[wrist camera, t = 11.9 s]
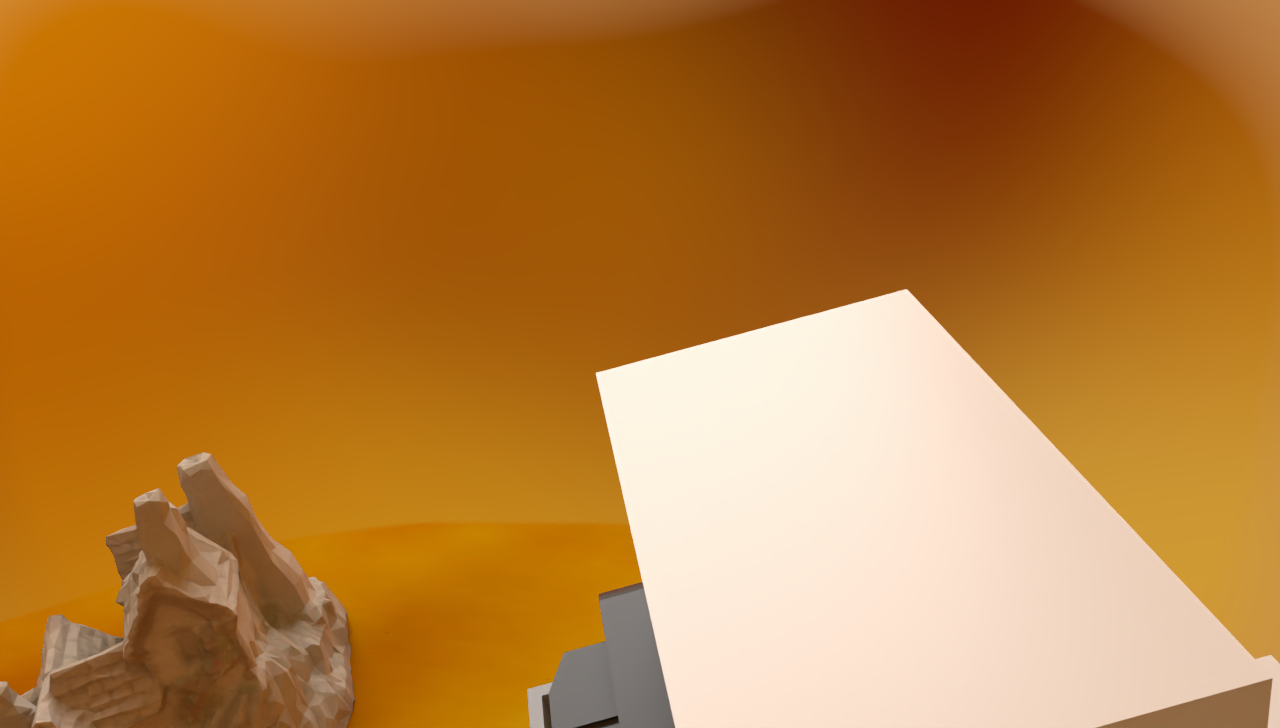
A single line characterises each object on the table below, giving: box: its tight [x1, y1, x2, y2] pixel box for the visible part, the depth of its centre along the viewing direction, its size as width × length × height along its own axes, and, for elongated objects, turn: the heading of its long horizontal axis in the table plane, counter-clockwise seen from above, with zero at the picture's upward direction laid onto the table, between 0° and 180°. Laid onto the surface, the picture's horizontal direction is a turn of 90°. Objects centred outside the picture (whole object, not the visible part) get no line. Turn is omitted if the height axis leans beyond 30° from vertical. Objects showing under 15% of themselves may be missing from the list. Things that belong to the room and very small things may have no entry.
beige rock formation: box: [0, 453, 355, 728], centre depth 46 cm, size 16×16×15 cm
